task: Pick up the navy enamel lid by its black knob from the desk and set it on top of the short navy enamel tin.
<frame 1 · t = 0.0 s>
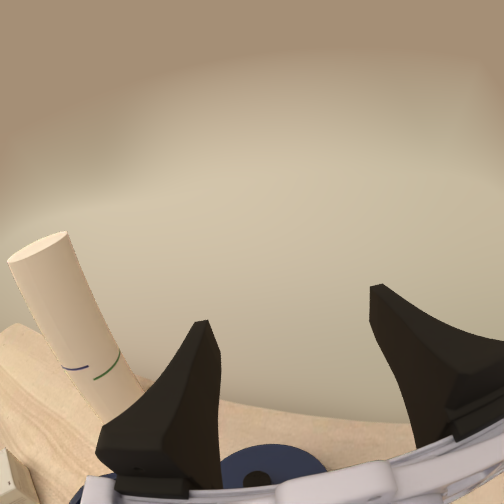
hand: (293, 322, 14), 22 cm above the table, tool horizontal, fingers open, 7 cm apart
cylindrical container: (132, 421, 35), on the table
tin lid: (264, 497, 23), point 1 cm above the table
small box: (17, 497, 21), on the table
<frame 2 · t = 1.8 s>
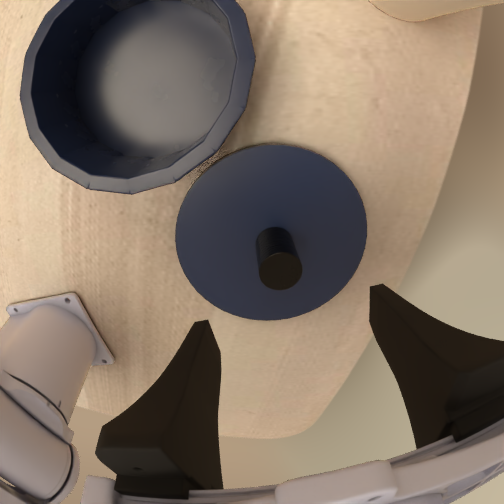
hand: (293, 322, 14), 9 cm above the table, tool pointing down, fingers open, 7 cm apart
tin lid: (273, 240, 21), point 1 cm above the table
tin: (151, 76, 16), on the table
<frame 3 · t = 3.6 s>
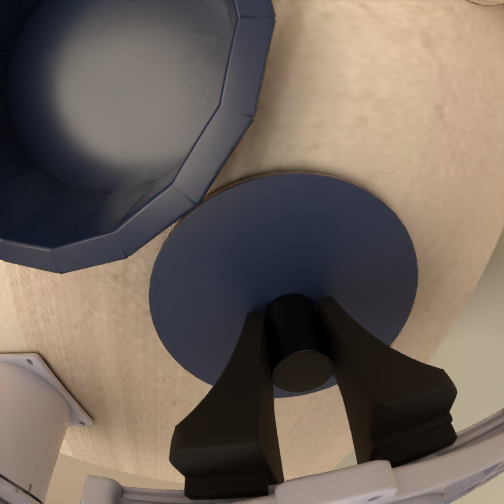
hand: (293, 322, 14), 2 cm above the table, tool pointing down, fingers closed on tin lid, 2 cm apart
tin lid: (289, 308, 14), point 1 cm above the table, touching gripper
tin: (105, 67, 10), on the table
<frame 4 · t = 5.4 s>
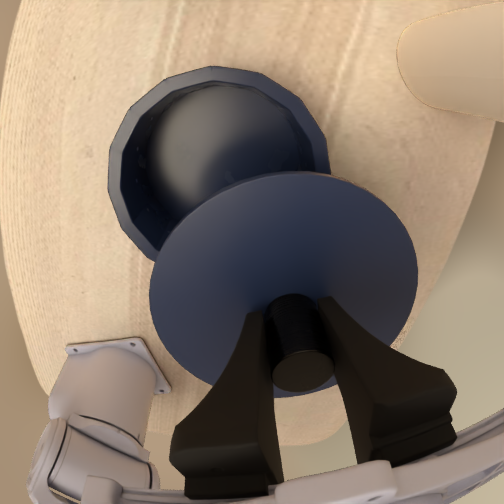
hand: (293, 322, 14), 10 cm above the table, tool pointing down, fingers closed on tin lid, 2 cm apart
cylindrical container: (435, 64, 17), on the table
tin lid: (289, 308, 14), point 9 cm above the table, touching gripper
tin: (221, 161, 20), on the table
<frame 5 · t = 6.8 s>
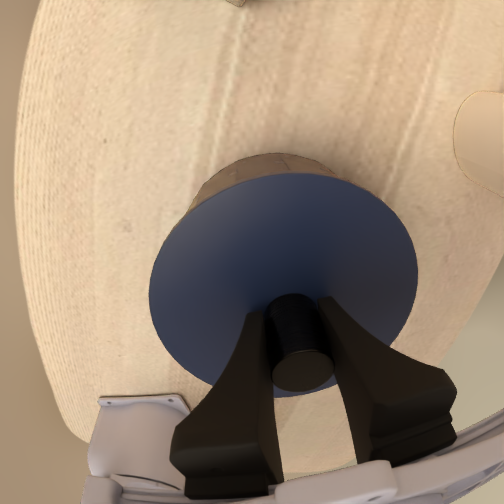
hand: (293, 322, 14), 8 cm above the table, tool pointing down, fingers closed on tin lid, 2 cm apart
cylindrical container: (485, 138, 17), on the table
tin lid: (289, 307, 14), point 7 cm above the table, touching gripper
tin: (274, 244, 20), on the table
when the fingers open (6 cm above the table, at t = 7.4 s): tin lid stays where it is, resting on tin.
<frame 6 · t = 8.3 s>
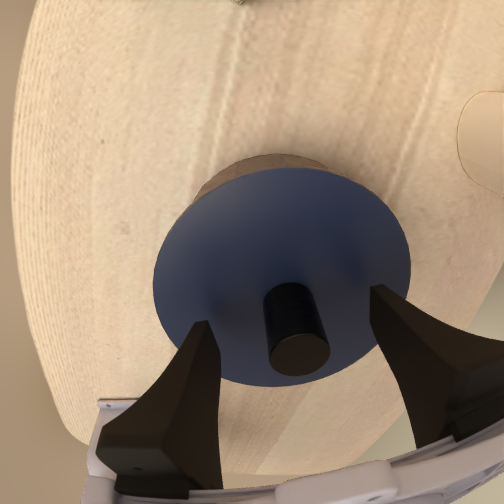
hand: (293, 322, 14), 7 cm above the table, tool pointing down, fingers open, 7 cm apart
cylindrical container: (489, 138, 17), on the table
tin lid: (287, 297, 15), point 5 cm above the table, touching tin
tin: (275, 246, 20), on the table
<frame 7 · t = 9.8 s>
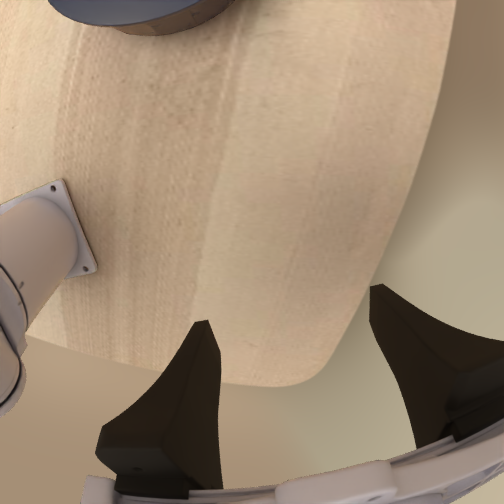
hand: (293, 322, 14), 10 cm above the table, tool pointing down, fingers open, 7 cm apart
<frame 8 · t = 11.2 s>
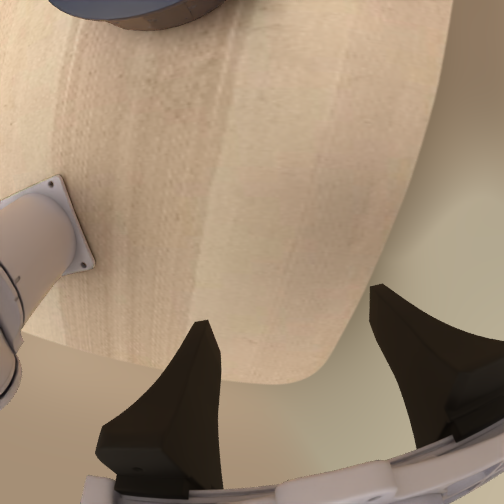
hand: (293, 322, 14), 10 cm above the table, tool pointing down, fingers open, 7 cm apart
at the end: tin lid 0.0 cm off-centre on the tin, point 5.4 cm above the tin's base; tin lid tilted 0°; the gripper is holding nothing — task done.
